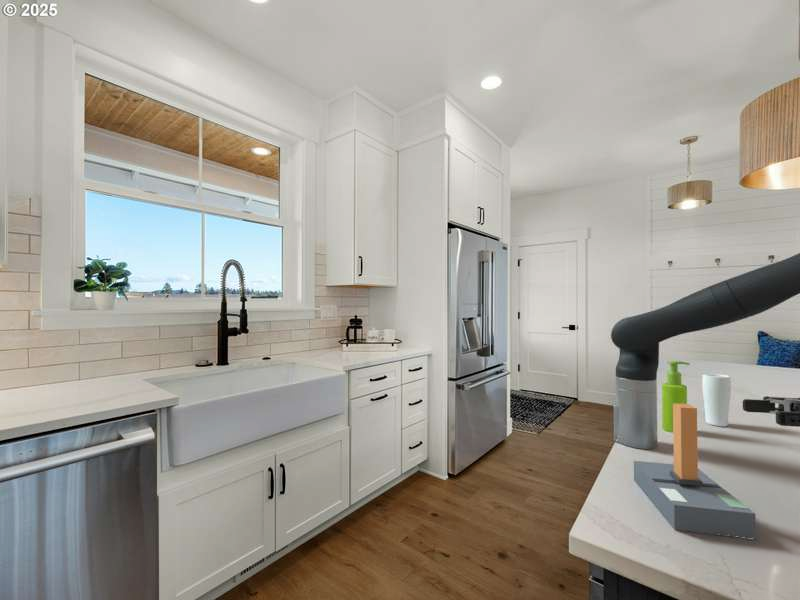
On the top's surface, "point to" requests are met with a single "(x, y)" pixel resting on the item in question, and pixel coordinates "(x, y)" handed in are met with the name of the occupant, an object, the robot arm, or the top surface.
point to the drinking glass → (716, 398)
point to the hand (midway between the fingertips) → (759, 411)
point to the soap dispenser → (672, 394)
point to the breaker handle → (685, 445)
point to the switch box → (694, 502)
